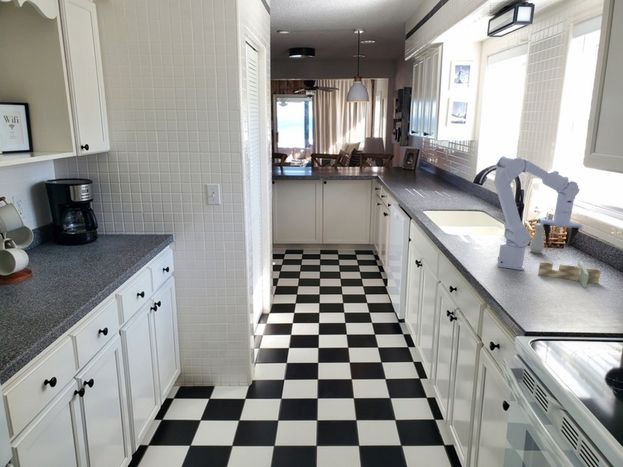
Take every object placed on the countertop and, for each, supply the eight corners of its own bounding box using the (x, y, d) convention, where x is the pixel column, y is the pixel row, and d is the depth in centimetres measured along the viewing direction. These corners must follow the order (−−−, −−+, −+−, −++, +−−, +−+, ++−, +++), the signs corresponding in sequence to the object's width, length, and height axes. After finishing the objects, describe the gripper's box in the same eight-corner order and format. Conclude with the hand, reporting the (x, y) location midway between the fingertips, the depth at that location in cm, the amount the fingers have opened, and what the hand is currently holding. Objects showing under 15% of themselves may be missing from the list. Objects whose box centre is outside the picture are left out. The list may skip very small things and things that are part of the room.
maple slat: (538, 274, 180) (540, 262, 179) (538, 273, 181) (540, 261, 180) (598, 283, 173) (600, 270, 172) (597, 282, 174) (600, 269, 173)
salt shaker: (544, 254, 208) (549, 225, 204) (530, 253, 209) (535, 224, 205) (540, 251, 213) (545, 222, 210) (527, 249, 214) (531, 221, 211)
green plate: (576, 273, 183) (578, 261, 182) (579, 274, 183) (582, 262, 181) (582, 287, 169) (584, 273, 167) (586, 287, 168) (588, 274, 167)
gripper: (543, 210, 184) (537, 244, 187) (585, 215, 179) (579, 249, 182) (542, 207, 190) (537, 240, 193) (583, 211, 185) (576, 245, 188)
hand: (557, 244), depth 188 cm, fingers open, 7 cm apart
